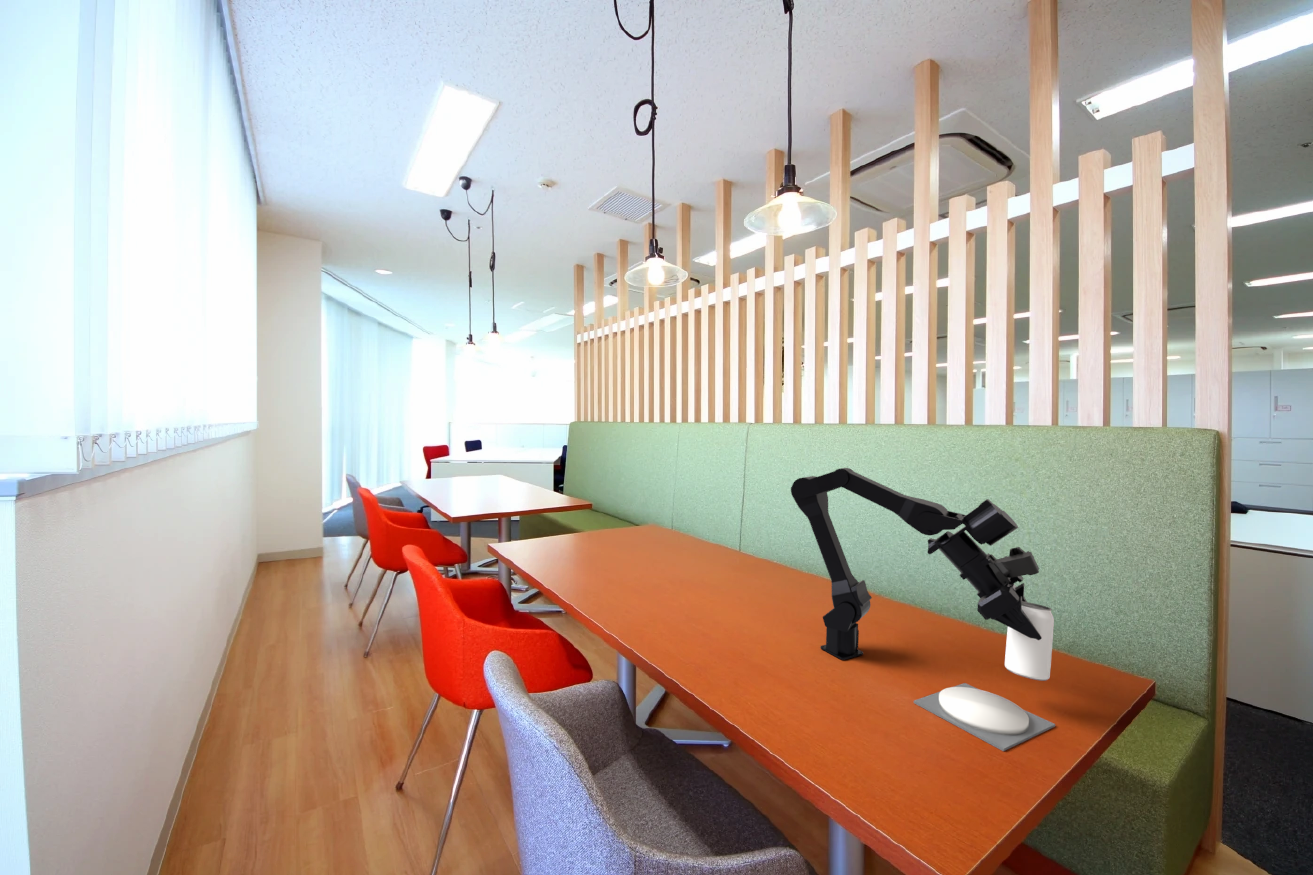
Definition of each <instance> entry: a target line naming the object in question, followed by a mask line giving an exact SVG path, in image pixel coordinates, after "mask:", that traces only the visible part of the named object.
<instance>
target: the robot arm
mask: <svg viewBox="0 0 1313 875" xmlns="http://www.w3.org/2000/svg"><path fill="white" fill-rule="evenodd" d="M839 488H843V489H845V490H847V491H849V492H851V493H853V494H856V495H857V496H858V497H862V498H864V499H866V500H868V501H869V502H872V503H874V504H876V505H878V506H880V507H882V508H884V509H886V510H888V511H890V512H892V513H894V514H895V515H897V516H898V517H899V518H900V519H901V520H903V521H904V522H905V523H906V524H907V525H909V526H910V527H911V528H912V529H914V530H915V531H917V532H918V533H920V534H922V535H925V536H935V535H938V534H939V533H941V532H943V531H946V532H944V533H943V534H941V535H940V536H939V537H937V538H931V537H930V538H929V539H927V544H928V545H927V546H928V547H927V548H928V549H927V554H928V555H932V554H933V553H935V552H936V551H938V550H939V551H940V552H941V553H942V554H943V555H944V556H945V557H946V559H947V560H948V561H949V562H950V563H951V565H953V566H954V567H955V568H956V569H957V571H958V572H959V573H960V574H959V575H958V576H959V577H960V578H961V579H962V580H963V581H964V580H966V581H967V582H968V583H969V584H970V585H971V586H972V587H973V588H974V589H975V590H976V591H977V593H976V595H977V596H978V597H979V600H978V602H977V613H979V615H981V616H982V618H983V619H984V620H985V621H987V620H990V619H991V620H992V621H993V620H994V621H996V622H998V623H1000V624H1003V625H1004V626H1006V627H1007V628H1008V627H1010V628H1012V629H1014V630H1016V631H1018V632H1020V633H1022V634H1023V635H1025V636H1027V637H1029V638H1034V639H1037V640H1040V639H1041V638H1042V637H1041V636H1040V634H1039V633H1038V631H1037V630H1036V628H1035V627H1034V626H1033V624H1032V623H1031V621H1030V620H1029V618H1028V617H1027V616H1026V614H1025V613H1024V611H1023V610H1022V601H1023V602H1028V601H1027V599H1026V597H1025V583H1024V582H1023V580H1024V577H1023V576H1033V575H1037V574H1039V573H1040V568H1039V565H1038V562H1037V561H1036V559H1035V556H1034V555H1033V553H1032V551H1029V550H1028V551H1024V550H1023V549H1022V548H1021V547H1020V546H1016V547H1012V548H1010V549H1009V555H1008V556H1007V555H1006V556H1004V557H1000V558H996V557H995V555H993V554H992V553H991V554H990V553H986V552H985V551H984V550H983V549H982V548H981V547H980V546H979V545H985V544H987V545H988V546H994V544H996V543H997V542H999V541H1001V540H1002V539H1003V538H1005V537H1007V536H1008V535H1009V534H1011V533H1013V532H1014V531H1016V530H1017V529H1019V526H1018V525H1017V522H1016V521H1015V520H1014V519H1013V518H1012V517H1011V516H1010V515H1009V514H1008V513H1007V512H1006V511H1005V510H1002V509H1001V508H1000V507H999V506H998V505H996V504H995V503H993V502H992V501H991V500H990V499H988V498H987V499H985V500H984V501H982V502H981V503H980V504H979V505H978V506H977V507H976V508H974V509H972V511H970V512H968V513H967V514H963V513H958V512H954V511H950V510H948V509H947V508H946V507H945V505H942V504H940V503H938V502H933V501H930V500H927V499H924V498H919V497H913V496H910V495H906V494H903V493H902V492H899V491H896V490H895V489H892V488H890V487H889V486H886V485H884V484H882V483H880V482H877V481H875V480H873V479H871V478H868V477H866V476H864V475H862V474H860V473H858V472H856V471H854V470H852V469H851V468H849V467H841V468H837V469H835V470H833V471H831V472H828V473H825V474H821V475H819V476H816V475H815V476H814V475H811V476H803V477H800V478H799V477H798V478H797V479H796V480H794V482H792V485H791V487H790V494H791V496H792V499H793V500H794V502H795V503H796V505H797V507H798V509H799V510H800V511H801V512H802V513H803V514H804V515H805V517H807V518H806V519H808V521H809V525H810V527H811V529H812V532H813V535H814V538H815V540H816V543H817V545H818V549H819V552H820V554H821V556H822V559H823V562H824V564H825V567H826V570H827V573H828V575H829V578H830V581H831V582H830V583H831V601H832V606H833V608H832V609H831V610H828V612H826V613H825V614H824V615H823V616H822V620H823V624H824V626H825V627H826V631H825V632H826V634H825V636H826V638H825V639H826V640H825V644H823V645H820V650H823V651H825V652H826V653H828V654H830V655H831V656H834V657H836V658H838V659H839V660H843V661H844V660H848V659H851V658H852V659H853V658H856V657H860V656H863V655H864V651H862V650H861V649H859V637H860V636H859V635H860V631H859V624H858V623H857V622H859V621H860V620H862V618H864V616H865V615H866V614H868V612H869V610H870V609H871V599H872V598H873V597H872V596H871V594H870V593H869V592H868V588H867V583H866V581H865V580H864V579H862V580H860V581H858V579H856V577H855V576H854V575H853V574H852V571H851V568H850V566H849V563H848V561H847V557H846V556H845V552H844V550H843V548H842V545H841V543H840V540H839V536H838V535H837V531H836V529H835V526H834V524H833V521H832V518H831V516H830V514H829V496H828V492H832V491H835V490H837V489H839ZM961 525H964V527H962V528H961V529H959V530H957V531H956V532H954V533H952V531H954V530H956V529H957V528H959V527H960V526H961ZM947 530H948V531H947ZM951 530H952V531H951ZM966 532H967V533H966ZM968 534H969V535H968ZM970 536H971V537H970ZM974 540H975V541H974ZM976 542H977V543H978V544H977V543H976ZM1017 582H1019V583H1021V584H1019V585H1017V586H1016V583H1017ZM1022 582H1023V583H1022Z"/></svg>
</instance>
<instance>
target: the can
mask: <svg viewBox="0 0 1313 875" xmlns="http://www.w3.org/2000/svg"><path fill="white" fill-rule="evenodd" d="M1022 610H1023V611H1024V613H1025V614H1026V616H1027V617H1028V618H1029V620H1030V621H1031V623H1032V624H1033V626H1034V627H1035V628H1036V630H1037V631H1038V633H1039V634H1040V636H1041V637H1042V638H1041V639H1040V640H1037V639H1034V638H1029V637H1027V636H1025V635H1023V634H1022V633H1020V632H1018V631H1016V630H1014V629H1012V628H1010V627H1008V626H1007V630H1006V632H1007V633H1006V644H1005V653H1004V654H1005V656H1004V667H1005V668H1006V670H1008V672H1010V673H1012V674H1015V675H1017V676H1019V677H1023V678H1027V679H1031V680H1035V681H1042V682H1043V681H1044V682H1047V681H1048V680H1049V679H1050V676H1051V666H1052V655H1053V654H1052V653H1053V641H1054V628H1055V627H1054V624H1055V617H1054V615H1053V613H1052V610H1053V609H1052V608H1051V607H1048V606H1044V605H1041V604H1038V603H1033V602H1028V601H1027V602H1023V601H1022Z"/></svg>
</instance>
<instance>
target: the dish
mask: <svg viewBox="0 0 1313 875" xmlns="http://www.w3.org/2000/svg"><path fill="white" fill-rule="evenodd" d="M913 704H915V705H917V706H918V707H921V708H923V709H925V710H926V711H927V712H929V713H931V714H933V715H935V716H937V717H939V718H941V719H943V720H944V721H947V722H948V723H950V724H952V725H953V726H956V727H958V728H959V729H962V730H963V731H965V732H966V733H969V734H970V735H971V736H972V735H973V736H974V737H975V738H978V739H980V740H982V741H984V742H985V743H987V744H989V745H990V746H993V747H994V748H997V749H998V750H1000V751H1002V752H1005V751H1007V750H1009V749H1011V748H1013V747H1015V746H1018V745H1019V744H1022V743H1024V742H1026V741H1028V740H1030V739H1032V738H1034V737H1036V736H1039V735H1040V734H1042V733H1044V732H1046V731H1048V730H1050V729H1053V728H1055V727H1056V723H1053V721H1050V720H1047V719H1045V718H1043V717H1040V716H1039V715H1037V714H1034V713H1032V712H1029V711H1028V710H1025V709H1023V708H1022V707H1021V706H1019V705H1017V704H1016V703H1014V702H1013V701H1011V700H1010V699H1007V698H1006V697H1003V696H1001V695H998V694H996V693H992V692H989V691H987V690H982V689H979V688H977V687H975V686H972V685H970V684H969V683H966V682H964V683H961V684H957V685H955V686H951V687H946V688H943V689H942V690H940V691H937V692H935V693H932V694H929V695H927V696H923V697H920V698H917V699H914V700H913Z"/></svg>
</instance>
